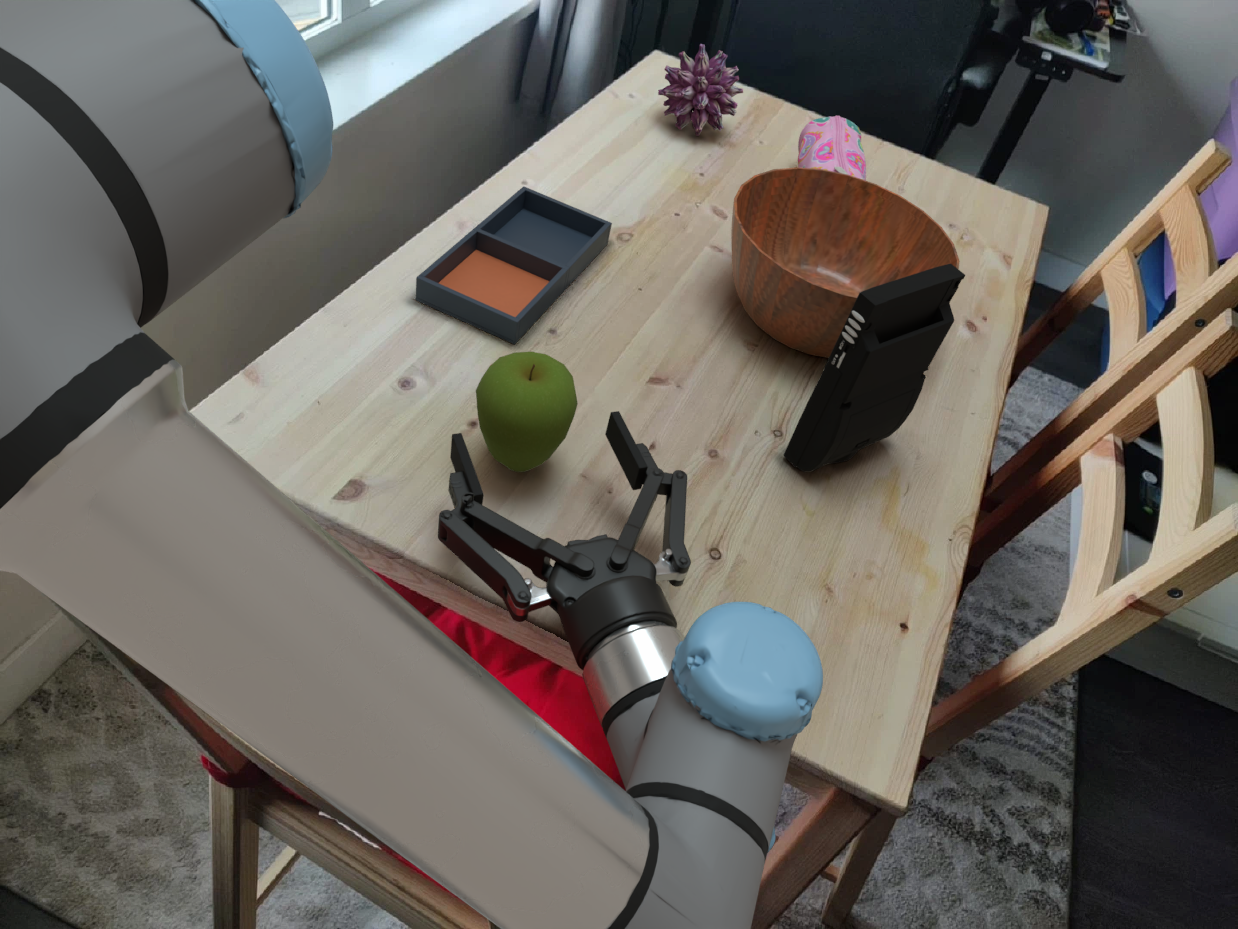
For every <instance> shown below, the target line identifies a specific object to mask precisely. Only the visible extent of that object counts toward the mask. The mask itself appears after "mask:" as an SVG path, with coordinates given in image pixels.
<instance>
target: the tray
mask: <svg viewBox="0 0 1238 929" xmlns="http://www.w3.org/2000/svg"><path fill="white" fill-rule="evenodd" d="M612 225H613V223H612V222H611V221H608V220H605V219H604V218H601V217H598V216H596V215H594V214H591V213H589V212H586V211H584V210H582V209H579V208H577V207H575V206H572V205H571V204H567V203H565V202H562V201H560V200H558V199H556V198H553V197H550V196H548V195H547V194H544V193H542V192H538V191H536V190H534V189H531V188H529V187H527V186H522V187H521V188H519V190H517V191H516V192H515V193H514V194H513V195H512V196H510V197H509V198H508V199H506V201H504V202H503V203H502V204H501V205H499V206H498V207H497V208H496V209H494V210H493V212H492V213H490V214H489V215H488V216H487V217H486V218H484V220H482V221H481V222H480V223H478V224H477V225H476V226H475V227H473V229H471V230H470V231H469V232H468V233H467V234H465V235H464V236H463V237H462V238H460V240H459V241H457V242H456V243H455V244H454V245H452V246H451V247H450V248H449V249H448V250H447V251H445V253H443V254H442V255H441V256H439V258H437V259H436V260H435V261H434V262H433V263H431V264H430V265H429V266H428V267H426V269H424V270H423V271H422V272H421V273H420V274H419V275H417V276H416V278H415V301H417V302H418V303H421V304H423V305H425V306H427V307H430V308H432V309H434V310H436V311H439V312H441V313H443V314H445V315H448V316H450V317H452V318H454V319H457V320H458V321H461V322H463V323H465V324H467V325H470V326H472V327H474V328H477V329H479V330H480V331H484V332H485V333H487V334H490V335H492V336H494V337H497V338H498V339H501V340H503V341H506V342H508V343H510V344H512V345H516V344H517V343H518V342H519V340H520V339H522V337H523V336H524V335H525V334H526V333H527V332H528V331H529V330H530V328H532V327H533V326H534V325H535V323H537V321H538V320H539V319H540V318H541V317H542V316H543V314H545V313H546V312H547V310H548V309H549V308H550V307H551V306H552V305H553V304H555V303H554V302H555V301H557V300H558V298H559V297H560V296H561V295H562V294H563V293H564V292H565V291H566V290H567V289H568V288H569V286H571V285H572V283H573V282H574V281H575V280H576V279H577V278H578V277H579V276H580V275H581V274H582V273H583V272H584V270H585V269H586V268H587V267H588V266H589V265H590V264H591V263H592V261H593V260H594V259H595V258H597V256H598V255H599V254H600V253H601V252H602V251H603V250H604V249H605V248H606V247H607V246H608V244H609V239H610V234H611V230H612Z"/></svg>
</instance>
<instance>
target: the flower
mask: <svg viewBox="0 0 1238 929" xmlns="http://www.w3.org/2000/svg"><path fill="white" fill-rule="evenodd" d="M678 57H679V59H680V60H679V67H675V66H673V67H671V66H669V65H666V66H665V68H664V72H666V73H665V75H664V79H665V80H666V81H667V82H668V83H669V85H666V86H665V87H663V88H662V89H658V91H657V95H658V96H664V97H666V100H664V101H663V104H662V105H663V107H668V108H667V109H666V110H664V111H663V114H664V117H667V116H669V115H674V117H676V122H675V123H674V126H675V128H677V129H678V130H680V131H681V130H683V128H684V127H686V126H687V125H689V124H690V123H692V127H693V129H694V133H695V136H697V137H699V136H701V133H702V131H703V128H704V127H705V125H706V124H708V125H709V126H710V127H712V129H713V130H714V131H716V130H717V131H719V132H721V131H722V130H723V129H724V125H723V115H726V116H727V115H730V116H732V117H734V116H736V114H737V110H736V109H737V108H738V102H737V101H734V97H735V96H736V95H738V94H743V93H744V88H742V87H741V88H740V87H738V86H736V85H735V83H737V82H738V81H739V80H740V77H739V75H735V74H736V73H738V72H739V67H738V65H735V66H733V67H726V61H727V58H728V54H725V52H723V50H720V49H719V50H718V51H717V53H716V54H715V55H714V56H713V57H711V58H710V59H709V55H708V52H707V51H706V46H705V44H703V43H700V44H699V48H698V52H697V53H696V55H695V56H694V59H693V58H692V57H689V56H688V55H687V54H686V52H685V51H681V52H679V53H678Z"/></svg>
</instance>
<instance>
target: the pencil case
mask: <svg viewBox="0 0 1238 929" xmlns="http://www.w3.org/2000/svg"><path fill="white" fill-rule="evenodd" d="M798 137H799V138H798V143H797V150H798V156H797V167H799V168H812V169H823V170H828V171H833V172H838V173H842V174H847V175H851V176H854V177H857V178H860V179H862V180H865V181H867V163H866V156H865V152H864V148H863V145H862V133H861V130H860V127H859V126H858V125H856V124H855V122H853V121H851V120H850V119H848V118H845V117H842V116H840V115H835V116H825V117H818V118H817V117H816V118H814V119H812V120H810V121H809V122H808V123H807V124H806V125H805V126H804V127H803V128H802V129H801V131H800V134H799V136H798Z"/></svg>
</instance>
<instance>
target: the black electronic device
mask: <svg viewBox="0 0 1238 929" xmlns="http://www.w3.org/2000/svg"><path fill="white" fill-rule="evenodd" d="M965 277H966V274H965V273H964V272H963V271H961V270H960V269H959V270H958V269H957V268H956V267H955V266H953V265H952V264H946V265H942V266H938V267H935V268H932V269H929V270H925V271H922V272H919V273H916V274H913V275H910V276H907V277H904V278H900V279H897V280H894V281H891V282H888V283H885V284H882V285H878V286H875V287H872V288H870V289H867V290H865V291H862V292H860V293H859V295H858V297H857V299H856V301H855V303H854V306H853V308H852V310H851V312H850V314H849V316H848V318H847V320H846V323H845V325H844V327H843V329H842V331H841V333H840V335H839V338H838V340H837V342H836V344H835V346H834V348H833V350H832V353H831V355H830V357H829V358H827V361H826V363H825V365H824V367H823V370H822V372H821V374H820V376H819V378H818V380H817V382H816V384H815V386H814V388H813V391H812V392H811V394H810V397H809V399H808V401H807V403H806V405H805V407H804V409H803V411H802V413H801V415H800V417H799V420H798V422H797V424H796V426H795V428H794V431H793V433H792V435H791V436H790V437H791V438H790V440H789V442H788V444H787V446H786V449H785V451H784V452H783V457H784V458H786V460H788V462H790V464H791V465H792V467H794V468H797V469H798V470H799V471H801V472H803V473H804V472H813V471H816V470H817V469H820V468H822V467H824V466H826V465H830V464H837V463H844V462H848V461H849V460H851V459H852V458H853V457H854V456H855V455H856V454H857V453H858V452H859V451H861V450H862V449H864V448H866V447H869V446H871V445H873V444H876V443H878V442H881V441H883V440H885V439H887V438H889V437H891V436H892V435H893V434H894V433H895V432H897V431H898V430H899V429H900V428H901V427H902V425H903V424H904V423H905V422H906V420H907V419H908V418H909V416H910V415H911V413H912V411H913V410H914V409H915V406H916V403H917V402H918V399H919V397H920V395H921V392H922V390H923V385H924V383H925V379H926V377H927V376H926V375H925V374H924V373H925V372H928V371H929V367H930V365H931V363H932V362H933V360H934V358H935V356H936V354H937V353H938V351H939V349H940V348H941V346H942V344H943V342H944V340H945V338H946V337H947V335H948V333H949V331H950V330H951V327H952V326H953V323H954V322H955V317H954V314H953V311H952V310H953V309H952V307H951V304H950V303H951V301H952V299H953V298H954V296H955V294H956V293H957V291H958V289H959V287H960V285H961V282H962V281H963V280H964V279H965Z"/></svg>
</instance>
